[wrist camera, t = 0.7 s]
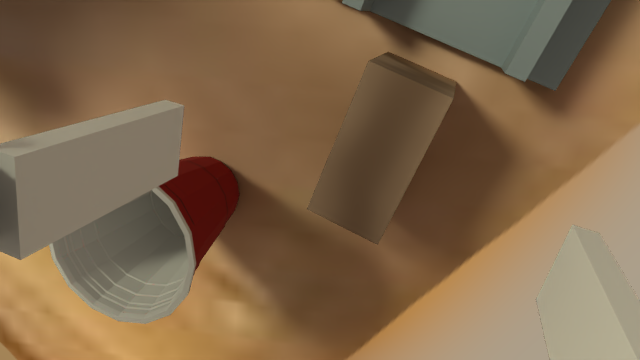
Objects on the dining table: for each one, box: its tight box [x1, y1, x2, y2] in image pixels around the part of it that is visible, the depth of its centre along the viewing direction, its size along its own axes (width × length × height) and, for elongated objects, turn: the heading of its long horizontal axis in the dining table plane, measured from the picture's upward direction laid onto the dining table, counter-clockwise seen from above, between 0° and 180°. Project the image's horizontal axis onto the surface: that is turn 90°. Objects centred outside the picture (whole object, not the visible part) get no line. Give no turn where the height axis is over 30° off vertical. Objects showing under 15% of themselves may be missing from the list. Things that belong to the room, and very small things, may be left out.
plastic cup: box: [49, 157, 239, 324], centre depth 34 cm, size 11×11×12 cm
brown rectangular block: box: [307, 52, 456, 245], centre depth 30 cm, size 5×10×7 cm, turn 159°
